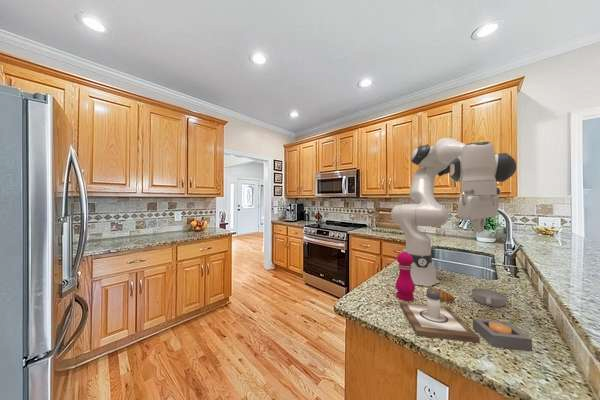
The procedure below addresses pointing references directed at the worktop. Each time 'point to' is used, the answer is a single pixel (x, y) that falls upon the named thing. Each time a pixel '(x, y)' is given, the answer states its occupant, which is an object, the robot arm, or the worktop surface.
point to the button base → (502, 335)
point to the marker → (433, 303)
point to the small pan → (489, 297)
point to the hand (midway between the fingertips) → (478, 231)
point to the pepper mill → (405, 277)
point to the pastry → (444, 295)
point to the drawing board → (438, 323)
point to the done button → (500, 328)
